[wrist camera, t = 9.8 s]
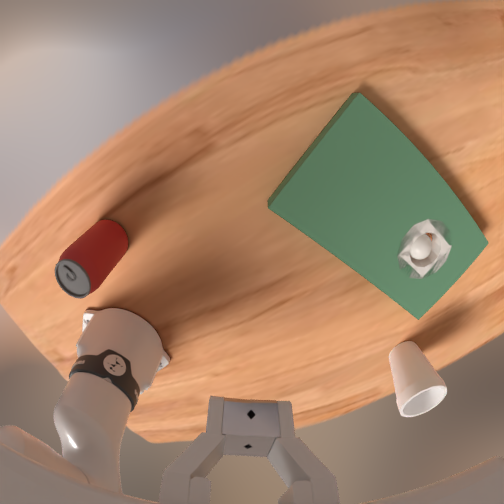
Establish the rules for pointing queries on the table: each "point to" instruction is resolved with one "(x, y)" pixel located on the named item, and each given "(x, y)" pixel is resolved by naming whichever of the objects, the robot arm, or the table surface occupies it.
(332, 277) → the table surface
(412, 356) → the foam cup
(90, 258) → the beer can
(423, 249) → the ball
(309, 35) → the table surface
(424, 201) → the green rectangular slab
